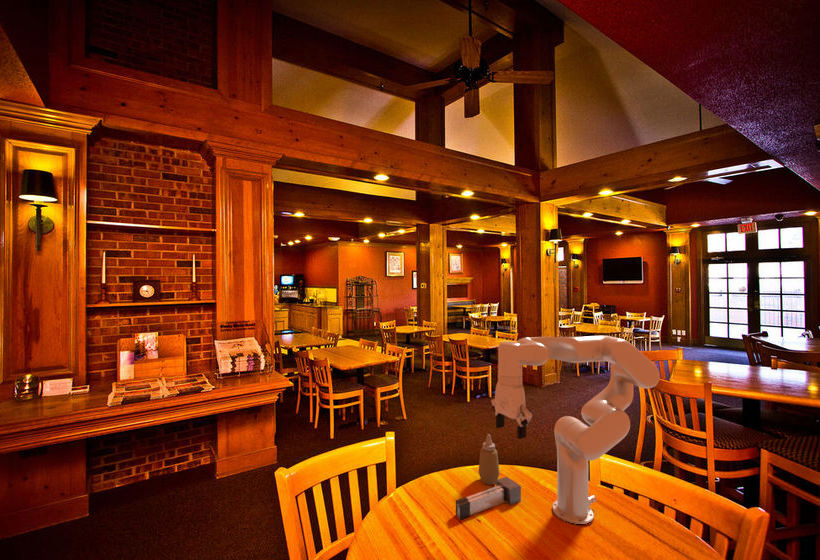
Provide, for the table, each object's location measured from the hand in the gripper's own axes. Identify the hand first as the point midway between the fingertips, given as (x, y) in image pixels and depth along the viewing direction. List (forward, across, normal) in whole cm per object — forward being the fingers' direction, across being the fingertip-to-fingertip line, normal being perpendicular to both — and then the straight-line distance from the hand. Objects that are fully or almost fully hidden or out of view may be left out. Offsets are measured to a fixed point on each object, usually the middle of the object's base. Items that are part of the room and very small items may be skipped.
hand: (510, 432), depth 121 cm
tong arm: (+28, -8, -6) cm, 30 cm away
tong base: (+28, -9, -2) cm, 30 cm away
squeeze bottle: (+28, -21, +9) cm, 37 cm away
